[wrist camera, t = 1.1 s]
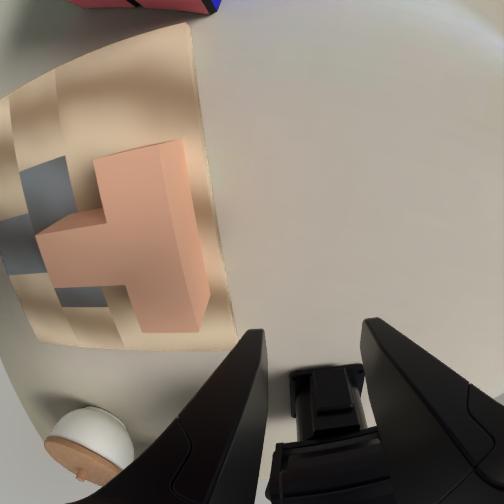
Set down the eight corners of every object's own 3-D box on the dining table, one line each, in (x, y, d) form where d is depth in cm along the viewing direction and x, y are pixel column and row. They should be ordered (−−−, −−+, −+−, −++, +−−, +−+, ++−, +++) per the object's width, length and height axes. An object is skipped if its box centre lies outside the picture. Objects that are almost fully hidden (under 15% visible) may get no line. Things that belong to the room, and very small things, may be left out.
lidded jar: (134, 451, 33) (116, 505, 25) (66, 416, 32) (40, 466, 23) (154, 424, 29) (133, 492, 21) (71, 380, 28) (35, 441, 19)
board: (238, 339, 23) (236, 350, 22) (45, 335, 25) (39, 342, 24) (190, 27, 14) (185, 22, 13) (-20, 118, 16) (-29, 120, 15)
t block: (210, 294, 20) (198, 332, 16) (97, 299, 21) (72, 330, 17) (182, 138, 16) (158, 144, 12) (59, 168, 17) (21, 182, 13)
